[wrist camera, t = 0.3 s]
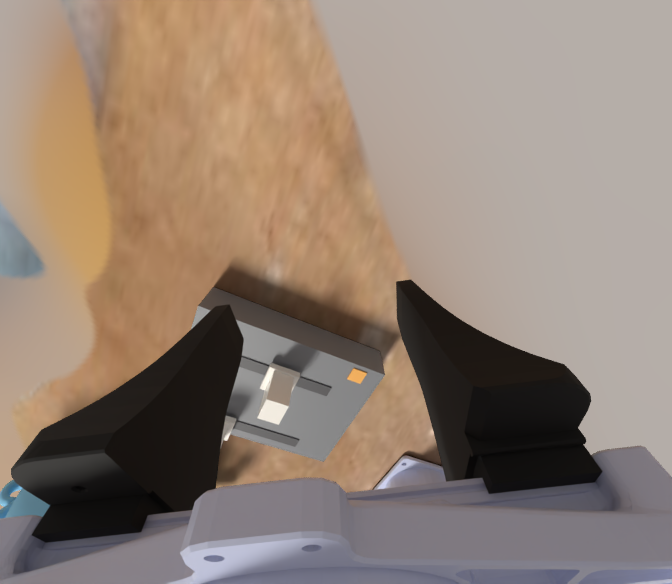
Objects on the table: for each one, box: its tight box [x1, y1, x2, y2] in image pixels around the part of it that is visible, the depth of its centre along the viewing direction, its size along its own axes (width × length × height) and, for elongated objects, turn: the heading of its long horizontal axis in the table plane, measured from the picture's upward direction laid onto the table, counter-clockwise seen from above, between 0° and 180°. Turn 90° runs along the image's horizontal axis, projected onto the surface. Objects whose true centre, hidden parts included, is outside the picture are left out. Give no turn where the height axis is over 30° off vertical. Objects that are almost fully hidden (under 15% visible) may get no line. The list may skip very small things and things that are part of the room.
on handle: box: [220, 416, 236, 449], centre depth 25 cm, size 2×2×3 cm
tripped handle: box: [257, 363, 300, 425], centre depth 23 cm, size 2×2×3 cm
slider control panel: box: [191, 287, 385, 462], centre depth 27 cm, size 12×15×3 cm
